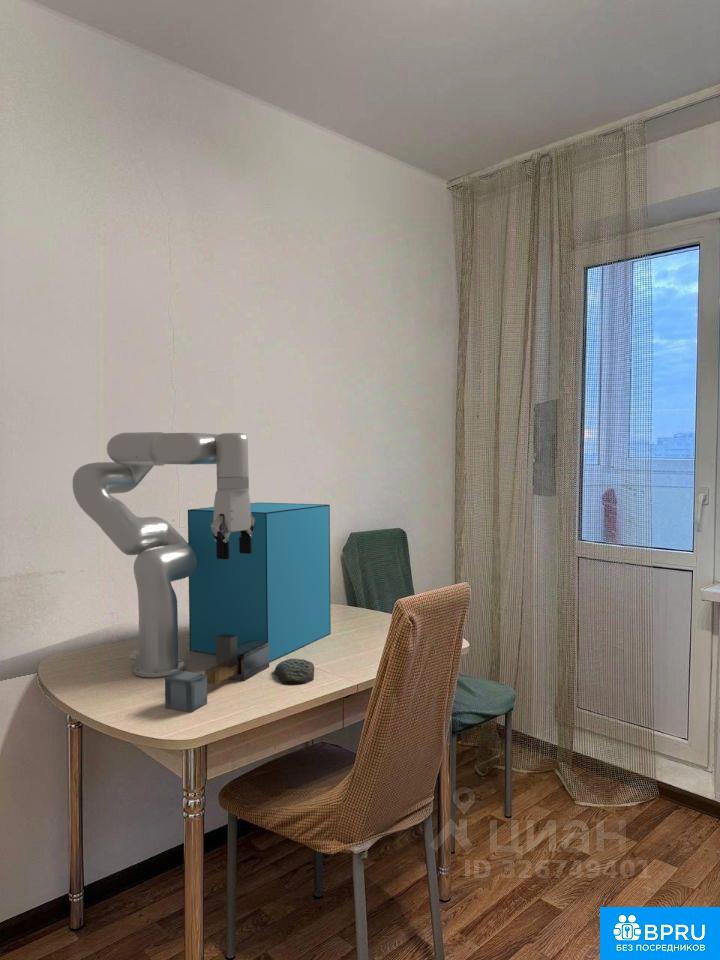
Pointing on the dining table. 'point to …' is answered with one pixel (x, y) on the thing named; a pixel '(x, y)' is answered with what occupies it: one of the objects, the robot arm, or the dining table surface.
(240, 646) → the sleeve
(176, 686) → the socket
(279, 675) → the fossil
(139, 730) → the dining table surface
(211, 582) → the box
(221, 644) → the tan bar piece
